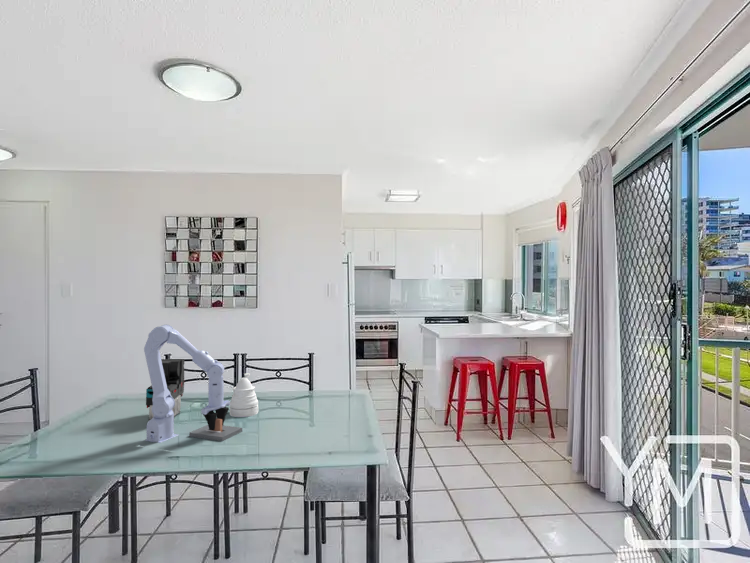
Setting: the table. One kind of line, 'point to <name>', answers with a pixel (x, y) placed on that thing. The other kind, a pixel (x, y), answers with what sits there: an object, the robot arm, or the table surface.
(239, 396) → the honey pot
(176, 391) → the bill acceptor
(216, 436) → the gray slotted plate
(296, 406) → the table surface
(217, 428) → the upright peach slab
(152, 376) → the robot arm
